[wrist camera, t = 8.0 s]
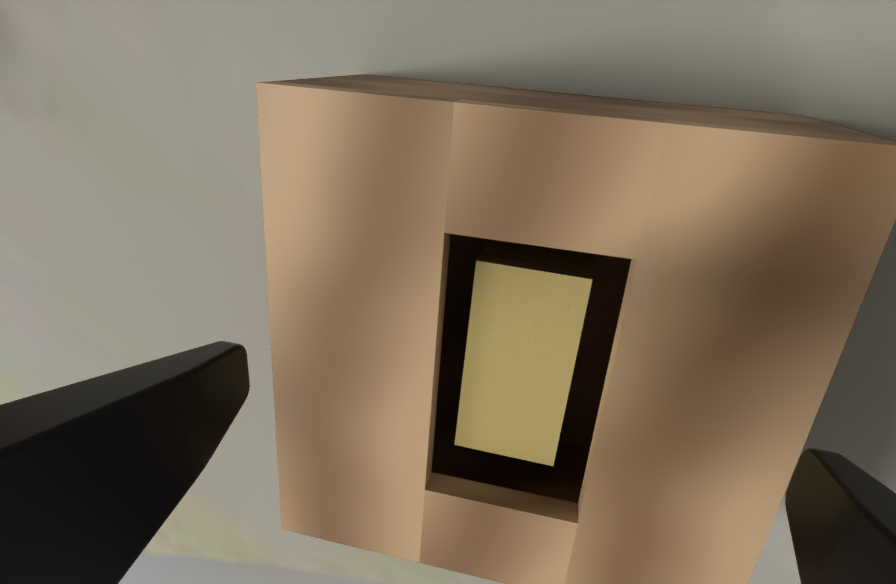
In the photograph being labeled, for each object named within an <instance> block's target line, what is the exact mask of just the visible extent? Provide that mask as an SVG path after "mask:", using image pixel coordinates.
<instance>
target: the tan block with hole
mask: <svg viewBox="0 0 896 584" xmlns="http://www.w3.org/2000/svg"><path fill="white" fill-rule="evenodd" d="M256 93H257V110H258V127H259V145H260V162H261V179H262V197H263V214H264V232H265V249H266V266H267V284H268V301H269V318H270V336H271V353H272V370H273V388H274V405H275V423H276V440H277V457H278V475H279V492H280V509H281V527H282V530H287V531H291V532H295V533H299V534H303V535H307V536H311V537H315V538H320V539H324V540H328V541H332V542H336V543H340V544H344V545H348V546H352V547H357V548H361V549H365V550H369V551H373V552H377V553H381V554H385V555H390V556H394V557H398V558H402V559H406V560H410V561H414V562H418V563H422V564H427V565H431V566H435V567H439V568H443V569H447V570H451V571H455V572H460V573H464V574H468V575H472V576H476V577H480V578H484V579H488V580H492V581H497V582H501V583H505V584H748V582H749V579H750V577H751V575H752V572H753V570H754V567H755V565H756V562H757V560H758V557H759V555H760V552H761V550H762V547H763V545H764V543H765V540H766V538H767V535H768V533H769V530H770V528H771V525H772V523H773V520H774V518H775V515H776V513H777V511H778V508H779V506H780V503H781V501H782V498H783V496H784V493H785V491H786V488H787V486H788V483H789V481H790V479H791V476H792V474H793V471H794V469H795V466H796V464H797V461H798V459H799V456H800V454H801V451H802V449H803V447H804V444H805V442H806V439H807V437H808V434H809V432H810V429H811V427H812V424H813V422H814V420H815V417H816V415H817V412H818V410H819V407H820V405H821V402H822V400H823V397H824V395H825V392H826V390H827V388H828V385H829V383H830V380H831V378H832V375H833V373H834V370H835V368H836V365H837V363H838V360H839V358H840V356H841V353H842V351H843V348H844V346H845V343H846V341H847V338H848V336H849V333H850V331H851V328H852V326H853V324H854V321H855V319H856V316H857V314H858V311H859V309H860V306H861V304H862V301H863V299H864V296H865V294H866V292H867V289H868V287H869V284H870V282H871V279H872V277H873V274H874V272H875V269H876V267H877V264H878V262H879V260H880V257H881V255H882V252H883V250H884V247H885V245H886V242H887V240H888V237H889V235H890V232H891V230H892V228H893V225H894V223H895V220H896V141H894V140H890V139H886V138H882V137H879V136H875V135H871V134H867V133H863V132H860V131H856V130H852V129H848V128H845V127H841V126H837V125H833V124H830V123H826V122H822V121H818V120H814V119H811V118H807V117H803V116H799V115H791V114H780V113H769V112H759V111H748V110H737V109H726V108H716V107H705V106H694V105H683V104H673V103H662V102H651V101H640V100H630V99H619V98H608V97H597V96H587V95H576V94H565V93H554V92H544V91H533V90H522V89H511V88H501V87H490V86H479V85H468V84H458V83H447V82H436V81H425V80H415V79H404V78H393V77H382V76H372V75H350V76H336V77H323V78H310V79H297V80H284V81H271V82H258V83H256ZM487 239H492V240H499V241H506V242H513V243H521V244H528V245H535V246H542V247H549V248H557V249H564V250H571V251H578V252H585V253H591V256H592V277H593V280H592V285H591V290H590V294H589V299H588V304H587V309H586V313H585V318H584V323H583V328H582V332H581V337H580V342H579V347H578V351H577V356H576V361H575V366H574V370H573V375H572V380H571V385H570V389H569V394H568V399H567V404H566V408H565V413H564V418H563V423H562V427H561V432H560V437H559V442H558V446H557V451H556V456H555V461H554V465H553V466H550V465H545V464H540V463H536V462H531V461H527V460H522V459H517V458H513V457H508V456H504V455H499V454H494V453H490V452H485V451H481V450H476V449H472V448H467V447H462V446H458V445H454V444H455V436H456V428H457V419H458V411H459V402H460V394H461V385H462V377H463V368H464V360H465V352H466V343H467V335H468V326H469V318H470V309H471V301H472V293H473V284H474V276H475V267H476V260H477V258H478V256H479V255H480V253H481V251H482V249H483V247H484V245H485V243H486V241H487Z"/></svg>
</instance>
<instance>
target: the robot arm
mask: <svg viewBox="0 0 896 584" xmlns="http://www.w3.org/2000/svg"><path fill="white" fill-rule="evenodd" d="M249 387H250V383H249V372H248V362H247V353H246V350H245V348H244V347H243V346H242V345H241V344H236V343H231V342H225V341H219V342H215V343H212V344H208V345H205V346H201V347H198V348H194V349H191V350H188V351H184V352H181V353H177V354H174V355H170V356H167V357H163V358H160V359H157V360H153V361H150V362H146V363H143V364H139V365H136V366H132V367H129V368H126V369H122V370H119V371H115V372H112V373H108V374H105V375H102V376H98V377H95V378H91V379H88V380H84V381H81V382H77V383H74V384H71V385H67V386H64V387H60V388H57V389H53V390H50V391H46V392H43V393H40V394H36V395H33V396H29V397H26V398H22V399H19V400H15V401H12V402H9V403H5V404H2V405H0V584H118V583H119V582H120V580H121V579H122V578H123V576H124V575H125V574H126V572H127V571H128V570H129V568H130V567H131V566H132V564H133V563H134V562H135V560H136V559H137V558H138V556H139V555H140V554H141V552H142V551H143V550H144V549H145V547H146V546H147V545H148V543H149V542H150V541H151V539H152V538H153V537H154V535H155V534H156V533H157V531H158V530H159V529H160V527H161V526H162V525H163V523H164V522H165V521H166V519H167V518H168V517H169V515H170V514H171V513H172V511H173V510H174V509H175V507H176V506H177V505H178V503H179V502H180V501H181V499H182V498H183V497H184V495H185V494H186V493H187V491H188V490H189V489H190V487H191V486H192V485H193V483H194V482H195V481H196V479H197V478H198V476H199V475H200V473H201V472H202V471H203V469H204V468H205V466H206V465H207V463H208V462H209V460H210V458H211V457H212V455H213V454H214V452H215V450H216V449H217V447H218V445H219V444H220V442H221V440H222V439H223V437H224V435H225V434H226V432H227V430H228V429H229V427H230V425H231V424H232V422H233V420H234V419H235V417H236V415H237V414H238V412H239V410H240V409H241V407H242V405H243V404H244V402H245V400H246V398H247V396H248V393H249ZM785 504H786V511H787V516H788V521H789V526H790V531H791V536H792V541H793V546H794V551H795V556H796V561H797V566H798V571H799V576H800V581H801V584H896V493H894V492H893V491H892V490H890V489H889V488H887V487H886V486H885V485H883V484H882V483H880V482H879V481H877V480H876V479H875V478H873V477H872V476H870V475H869V474H868V473H866V472H865V471H863V470H862V469H860V468H859V467H858V466H856V465H855V464H853V463H852V462H850V461H849V460H848V459H846V458H845V457H843V456H842V455H840V454H838V453H835V452H829V451H824V450H818V449H811V448H810V449H807V450H805V451H804V452H803V453H802V455H801V457H800V459H799V462H798V464H797V467H796V469H795V472H794V474H793V476H792V479H791V481H790V484H789V486H788V489H787V492H786V499H785Z"/></svg>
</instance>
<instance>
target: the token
mask: <svg viewBox="0 0 896 584" xmlns="http://www.w3.org/2000/svg"><path fill="white" fill-rule="evenodd" d="M592 280H593V277H592V256H591V253H585V252H578V251H571V250H564V249H557V248H549V247H542V246H535V245H528V244H521V243H513V242H506V241H499V240H492V239H487V241H486V243H485V245H484V247H483V249H482V251H481V253H480V255H479V256H478V258H477V260H476V267H475V276H474V284H473V293H472V301H471V309H470V318H469V326H468V335H467V343H466V352H465V360H464V368H463V377H462V385H461V394H460V402H459V411H458V419H457V428H456V436H455V444H454V445H458V446H462V447H467V448H472V449H476V450H481V451H485V452H490V453H494V454H499V455H504V456H508V457H513V458H517V459H522V460H527V461H531V462H536V463H540V464H545V465H550V466H553V465H554V461H555V456H556V451H557V446H558V442H559V437H560V432H561V427H562V423H563V418H564V413H565V408H566V404H567V399H568V394H569V389H570V385H571V380H572V375H573V370H574V366H575V361H576V356H577V351H578V347H579V342H580V337H581V332H582V328H583V323H584V318H585V313H586V309H587V304H588V299H589V294H590V290H591V285H592Z"/></svg>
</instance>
